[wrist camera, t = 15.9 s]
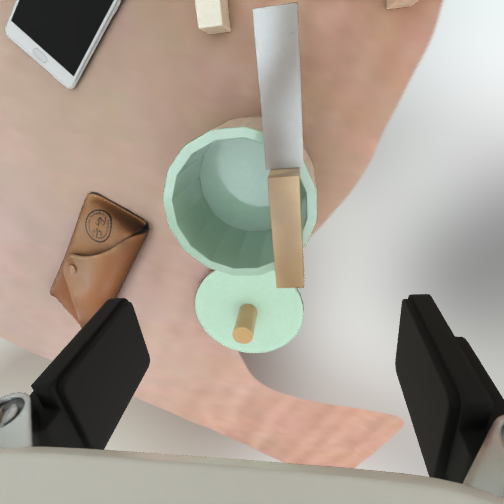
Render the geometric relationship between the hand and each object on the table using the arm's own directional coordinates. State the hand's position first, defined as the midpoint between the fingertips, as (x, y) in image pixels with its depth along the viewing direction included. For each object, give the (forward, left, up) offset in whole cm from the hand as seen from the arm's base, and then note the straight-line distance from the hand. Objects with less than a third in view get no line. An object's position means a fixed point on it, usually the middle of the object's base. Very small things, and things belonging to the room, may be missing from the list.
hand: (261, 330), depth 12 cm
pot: (+4, +1, -25) cm, 26 cm away
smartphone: (+18, -17, -26) cm, 35 cm away
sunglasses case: (+25, +10, -26) cm, 37 cm away
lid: (+6, +17, -25) cm, 31 cm away
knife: (0, -1, -16) cm, 16 cm away
